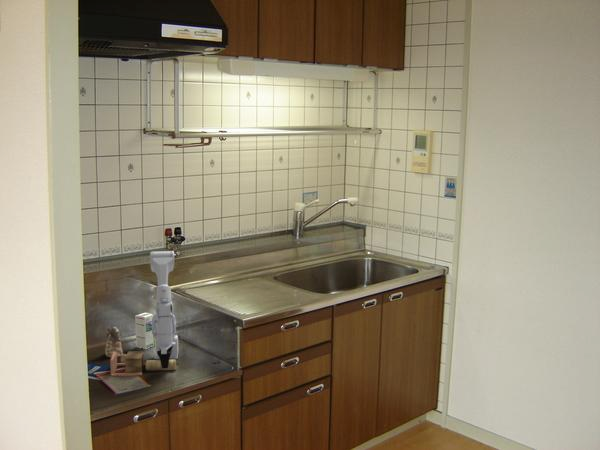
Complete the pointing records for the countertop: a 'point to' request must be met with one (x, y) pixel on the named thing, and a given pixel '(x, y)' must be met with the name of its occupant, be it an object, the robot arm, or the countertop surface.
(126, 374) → the end wall and guide rails
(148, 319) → the syrup box
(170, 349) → the robot arm
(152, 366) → the dowel
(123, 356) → the short dowel
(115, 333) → the figurine
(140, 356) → the block
